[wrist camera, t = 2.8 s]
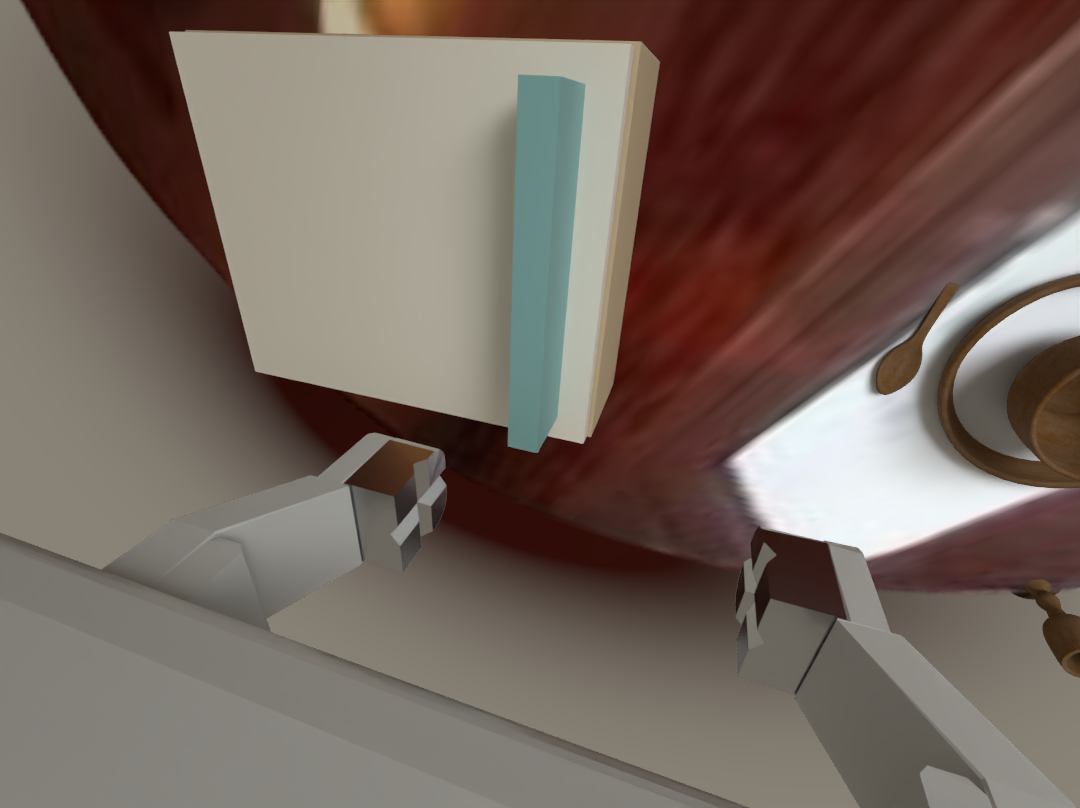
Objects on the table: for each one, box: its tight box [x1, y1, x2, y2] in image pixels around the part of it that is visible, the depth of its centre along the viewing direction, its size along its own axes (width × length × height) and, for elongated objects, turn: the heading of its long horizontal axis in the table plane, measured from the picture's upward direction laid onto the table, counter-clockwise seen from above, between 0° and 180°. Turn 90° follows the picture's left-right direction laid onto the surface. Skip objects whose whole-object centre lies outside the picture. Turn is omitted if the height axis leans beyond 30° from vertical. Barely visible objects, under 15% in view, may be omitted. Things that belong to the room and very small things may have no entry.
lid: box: [169, 32, 634, 453], centre depth 24 cm, size 22×18×4 cm
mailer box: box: [185, 30, 660, 437], centre depth 29 cm, size 22×18×7 cm
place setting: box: [876, 274, 1080, 677], centre depth 26 cm, size 18×20×6 cm
